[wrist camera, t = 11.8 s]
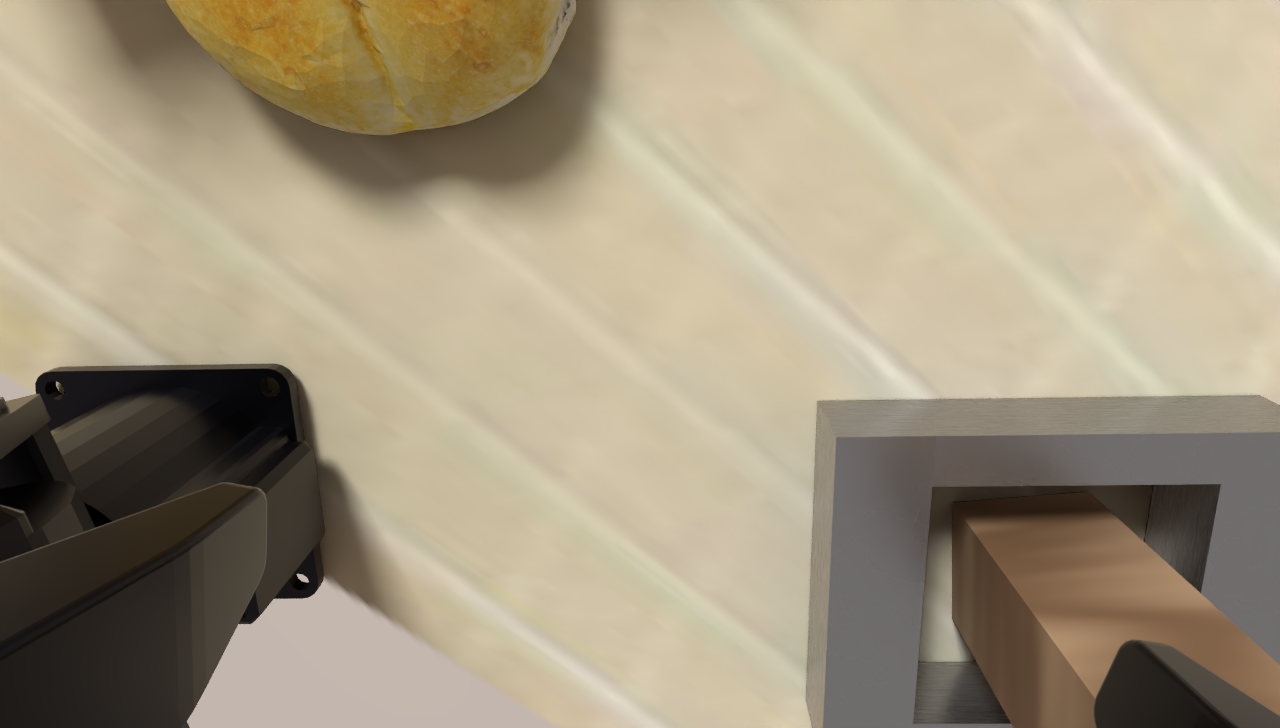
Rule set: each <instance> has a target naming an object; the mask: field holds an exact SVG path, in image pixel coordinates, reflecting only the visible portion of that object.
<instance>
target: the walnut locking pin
mask: <svg viewBox="0 0 1280 728" xmlns="http://www.w3.org/2000/svg"><path fill="white" fill-rule="evenodd" d="M952 619H953V621H954V623H955V624H956V626H957V628H958V630H959V631H960V633H961V635H962V637H963V639H964V640H965V642H966V644H967V646H968V647H969V649H970V651H971V653H972V655H973V656H974V658H975V660H976V662H977V663H978V665H979V667H980V669H981V671H982V672H983V674H984V676H985V678H986V679H987V681H988V683H989V685H990V686H991V688H992V690H993V692H994V694H995V695H996V697H997V699H998V701H999V702H1000V704H1001V706H1002V708H1003V710H1004V711H1005V713H1006V715H1007V717H1008V718H1009V720H1010V722H1011V724H1012V726H1013V727H1014V728H1096V726H1095V721H1094V703H1095V699H1096V696H1097V694H1098V691H1099V689H1100V687H1101V685H1102V683H1103V681H1104V679H1105V677H1106V675H1107V673H1108V670H1109V668H1110V666H1111V664H1112V662H1113V660H1114V658H1115V656H1116V654H1117V652H1118V650H1119V648H1120V646H1121V645H1122V644H1124V643H1125V642H1126V641H1129V640H1132V639H1137V640H1143V641H1149V642H1155V643H1161V644H1166V645H1169V646H1172V647H1173V648H1175V649H1177V650H1178V651H1180V652H1182V653H1183V654H1185V655H1186V656H1188V657H1189V658H1191V659H1192V660H1194V661H1196V662H1197V663H1199V664H1200V665H1202V666H1203V667H1205V668H1206V669H1208V670H1210V671H1211V672H1213V673H1214V674H1216V675H1217V676H1219V677H1220V678H1222V679H1224V680H1225V681H1227V682H1228V683H1230V684H1231V685H1233V686H1234V687H1236V688H1238V689H1239V690H1241V691H1242V692H1244V693H1245V694H1247V695H1248V696H1250V697H1252V698H1253V699H1255V700H1256V701H1258V702H1259V703H1261V704H1262V705H1264V706H1266V707H1267V708H1269V709H1270V710H1272V711H1273V712H1275V713H1276V714H1278V715H1280V665H1279V664H1278V663H1277V662H1276V661H1275V660H1273V659H1272V658H1271V657H1270V656H1269V655H1268V654H1267V653H1266V652H1265V651H1264V650H1262V649H1261V648H1260V647H1259V646H1258V645H1257V644H1256V643H1255V642H1254V641H1253V640H1251V639H1250V638H1249V637H1248V636H1247V635H1246V634H1245V633H1244V632H1243V631H1242V630H1240V629H1239V628H1238V627H1237V626H1236V625H1235V624H1234V623H1233V622H1232V621H1231V620H1229V619H1228V618H1227V617H1226V616H1225V615H1224V614H1223V613H1222V612H1221V611H1220V610H1218V609H1217V608H1216V607H1215V606H1214V605H1213V604H1212V603H1211V602H1210V601H1209V600H1207V599H1206V598H1205V597H1204V596H1203V595H1202V594H1201V593H1200V592H1199V591H1197V590H1196V589H1195V588H1194V587H1193V586H1192V585H1191V584H1190V583H1189V582H1188V581H1186V580H1185V579H1184V578H1183V577H1182V576H1181V575H1180V574H1179V573H1178V572H1177V571H1175V570H1174V569H1173V568H1172V567H1171V566H1170V565H1169V564H1168V563H1167V562H1166V561H1164V560H1163V559H1162V558H1161V557H1160V556H1159V555H1158V554H1157V553H1156V552H1155V551H1153V550H1152V549H1151V548H1150V547H1149V546H1148V545H1147V544H1146V543H1145V542H1144V541H1142V540H1141V539H1140V538H1139V537H1138V536H1137V535H1136V534H1135V533H1134V532H1132V531H1131V530H1130V529H1129V528H1128V527H1127V526H1126V525H1125V524H1124V523H1123V522H1121V521H1120V520H1119V519H1118V518H1117V517H1116V516H1115V515H1114V514H1113V513H1112V512H1110V511H1109V510H1108V509H1107V508H1106V507H1105V506H1104V505H1103V504H1102V503H1101V502H1099V501H1098V500H1097V499H1096V498H1095V497H1094V496H1093V495H1092V494H1091V493H1090V492H1077V493H1065V494H1052V495H1039V496H1027V497H1014V498H1002V499H989V500H977V501H964V502H952Z"/></svg>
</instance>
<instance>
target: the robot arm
mask: <svg viewBox="0 0 1280 728" xmlns="http://www.w3.org/2000/svg"><path fill="white" fill-rule="evenodd" d="M267 378H272V379H274V380H276V381H277V382H278V384H279V386H280V392H275V391H272V390H271V389H270V388H269V387H268V385H267ZM56 381H57V382H59V383H60V384H62V385H63V387H64V389H65V394H62V393H61V392H60V391H58V389H57V387H56ZM35 385H36V394H35V395H30V396H26V397H22V398H18V399H14V400H10V401H6V402H5V400H4V398H3V397H0V728H189V726H188V724H187V720H188V718H189V717H190V715H191V713H192V712H193V710H194V708H195V707H196V705H197V703H198V701H199V699H200V697H201V696H202V694H203V692H204V690H205V688H206V686H207V684H208V682H209V680H210V678H211V676H212V674H213V673H214V670H215V669H216V667H217V665H218V663H219V661H220V659H221V657H222V655H223V653H224V651H225V649H226V647H227V645H228V643H229V641H230V639H231V637H232V635H233V633H234V631H235V629H236V627H237V625H238V624H251V623H253V622H254V621H255V620H256V619H257V618H258V617H259V616H260V615H261V614H262V612H263V611H264V610H265V609H266V608H267V606H268V605H269V604H270V602H271V601H272V600H273V599H275V598H277V599H278V598H280V599H281V598H283V599H285V598H286V599H287V598H307V597H310V596H312V595H313V594H314V593H315V592H316V591H317V589H318V588H319V587H320V585H321V583H322V582H323V578H324V572H323V565H322V558H321V552H320V545H319V541H320V539H321V538H322V537H323V536H324V534H325V527H324V520H323V513H322V506H321V499H320V492H319V485H318V478H317V471H316V464H315V457H314V451H313V449H312V448H311V447H310V446H309V445H308V443H307V442H306V441H305V440H304V434H303V427H302V420H301V413H300V406H299V399H298V392H297V385H296V381H295V378H294V375H293V374H292V373H291V371H290V370H289V369H287V368H286V367H284V366H282V365H278V364H225V365H155V366H85V367H58V368H54V369H52V370H49V371H47V372H45V373H43V374H42V375H40V376H39V377H38V379H37V381H36V383H35ZM298 573H299V574H303V575H305V576H306V577H307V578H308V580H309V582H308V583H306V582H302V581H301V580H299V579H298V577H297V575H296V574H298ZM1094 721H1095V726H1096V728H1280V715H1278V714H1276V713H1275V712H1273V711H1272V710H1270V709H1269V708H1267V707H1266V706H1264V705H1262V704H1261V703H1259V702H1258V701H1256V700H1255V699H1253V698H1252V697H1250V696H1248V695H1247V694H1245V693H1244V692H1242V691H1241V690H1239V689H1238V688H1236V687H1234V686H1233V685H1231V684H1230V683H1228V682H1227V681H1225V680H1224V679H1222V678H1220V677H1219V676H1217V675H1216V674H1214V673H1213V672H1211V671H1210V670H1208V669H1206V668H1205V667H1203V666H1202V665H1200V664H1199V663H1197V662H1196V661H1194V660H1192V659H1191V658H1189V657H1188V656H1186V655H1185V654H1183V653H1182V652H1180V651H1178V650H1177V649H1175V648H1173V647H1172V646H1169V645H1166V644H1161V643H1155V642H1149V641H1143V640H1137V639H1132V640H1129V641H1126V642H1125V643H1124V644H1122V645H1121V646H1120V648H1119V650H1118V652H1117V654H1116V656H1115V658H1114V660H1113V662H1112V664H1111V666H1110V668H1109V670H1108V673H1107V675H1106V677H1105V679H1104V681H1103V683H1102V685H1101V687H1100V689H1099V691H1098V694H1097V696H1096V699H1095V703H1094Z"/></svg>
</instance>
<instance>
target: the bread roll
mask: <svg viewBox="0 0 1280 728" xmlns="http://www.w3.org/2000/svg"><path fill="white" fill-rule="evenodd" d="M165 1H166V2H167V4H168V5H169V7H170V8H171V10H172V11H173V13H174V14H175V16H176V17H177V18H178V20H179V21H180V22H181V24H182V25H183V26H184V28H185V29H186V30H187V32H188V33H189V34H190V35H191V36H192V37H193V38H194V39H195V40H196V41H197V42H198V43H199V44H200V46H201V47H202V48H203V49H204V50H205V51H206V52H207V53H208V54H209V55H210V56H211V57H212V58H213V59H214V60H215V61H216V62H217V63H219V64H220V65H221V66H222V67H223V68H224V69H225V70H227V71H228V72H229V73H230V74H231V75H232V76H234V77H235V78H236V79H237V80H238V81H239V82H241V83H242V84H243V85H244V86H245V87H247V88H248V89H250V90H251V91H253V92H254V93H256V94H258V95H259V96H261V97H263V98H265V99H266V100H268V101H270V102H271V103H273V104H275V105H278V106H280V107H282V108H284V109H286V110H288V111H290V112H292V113H294V114H297V115H299V116H301V117H303V118H306V119H308V120H310V121H311V122H314V123H316V124H319V125H322V126H326V127H330V128H333V129H337V130H341V131H344V132H350V133H360V134H369V135H392V134H398V133H403V132H408V131H413V130H423V129H432V128H439V127H444V126H453V125H456V124H460V123H464V122H468V121H471V120H474V119H477V118H479V117H482V116H484V115H486V114H488V113H490V112H493V111H495V110H497V109H499V108H501V107H503V106H504V105H506V104H508V103H509V102H511V101H512V100H514V99H515V98H517V97H518V96H520V95H521V94H522V93H524V92H525V91H527V90H528V89H529V88H531V87H532V86H534V85H535V84H536V83H537V82H538V81H539V80H540V79H541V78H542V77H543V76H544V75H545V74H546V73H547V71H548V69H549V67H550V65H551V63H552V61H553V59H554V57H555V55H556V53H557V51H558V49H559V47H560V45H561V43H562V41H563V39H564V37H565V34H566V31H567V28H568V27H569V25H570V24H571V22H572V20H573V18H574V16H575V14H576V0H165Z"/></svg>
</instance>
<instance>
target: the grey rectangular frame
mask: <svg viewBox="0 0 1280 728" xmlns="http://www.w3.org/2000/svg"><path fill="white" fill-rule="evenodd" d="M1079 485H1154V486H1153V492H1152V498H1151V504H1150V511H1149V517H1148V523H1147V529H1146V535H1145V541H1144V542H1145V543H1146V544H1147V545H1148V546H1149V547H1150V548H1151V549H1152V550H1153V551H1155V552H1156V553H1157V554H1158V555H1159V556H1160V557H1161V558H1162V559H1163V560H1164V561H1166V562H1167V563H1168V564H1169V565H1170V566H1171V567H1172V568H1173V569H1174V570H1175V571H1177V572H1178V573H1179V574H1180V575H1181V576H1182V577H1183V578H1184V579H1185V580H1186V581H1188V582H1189V583H1190V584H1191V585H1192V586H1193V587H1194V588H1195V589H1196V590H1197V591H1199V592H1200V593H1201V594H1202V595H1203V596H1204V597H1205V598H1206V599H1207V600H1209V601H1210V602H1211V603H1212V604H1213V605H1214V606H1215V607H1216V608H1217V609H1218V610H1220V611H1221V612H1222V613H1223V614H1224V615H1225V616H1226V617H1227V618H1228V619H1229V620H1231V621H1232V622H1233V623H1234V624H1235V625H1236V626H1237V627H1238V628H1239V629H1240V630H1242V631H1243V632H1244V633H1245V634H1246V635H1247V636H1248V637H1249V638H1250V639H1251V640H1253V641H1254V642H1255V643H1256V644H1257V645H1258V646H1259V647H1260V648H1261V649H1262V650H1264V651H1265V652H1266V653H1267V654H1268V655H1269V656H1270V657H1271V658H1272V659H1273V660H1275V661H1276V662H1277V663H1278V664H1279V665H1280V405H1278V404H1276V403H1274V402H1272V401H1270V400H1268V399H1266V398H1264V397H1262V396H1260V395H1253V396H1174V397H1095V398H1016V399H936V400H857V401H817V423H816V449H815V475H814V501H813V527H812V553H811V579H810V605H809V631H808V657H807V683H806V703H807V707H808V711H809V716H810V720H811V724H812V728H1014V727H1013V726H1012V724H1011V722H1010V720H1009V718H1008V717H1007V715H1006V713H1005V711H1004V710H1003V708H1002V706H1001V704H1000V702H999V701H998V699H997V697H996V695H995V694H994V692H993V690H992V688H991V686H990V685H989V683H988V681H987V679H986V678H985V676H984V674H983V672H982V671H981V669H980V667H979V665H978V663H977V662H918V658H919V645H920V633H921V621H922V609H923V596H924V584H925V572H926V559H927V547H928V535H929V523H930V510H931V498H932V487H972V486H1079Z"/></svg>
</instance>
